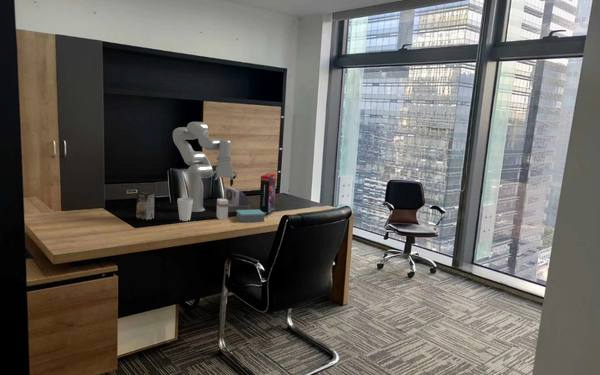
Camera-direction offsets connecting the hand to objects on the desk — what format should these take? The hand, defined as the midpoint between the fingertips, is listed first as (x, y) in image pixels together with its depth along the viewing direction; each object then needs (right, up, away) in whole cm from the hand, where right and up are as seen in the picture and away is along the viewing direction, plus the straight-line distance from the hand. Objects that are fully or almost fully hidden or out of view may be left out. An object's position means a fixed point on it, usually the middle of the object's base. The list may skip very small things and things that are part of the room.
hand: (223, 185), depth 281 cm
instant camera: (+1, -17, +34) cm, 38 cm away
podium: (+17, -22, +4) cm, 28 cm away
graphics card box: (+26, -19, +26) cm, 41 cm away
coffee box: (-47, -20, -10) cm, 52 cm away
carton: (-2, -21, +4) cm, 21 cm away
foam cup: (-23, -21, -8) cm, 32 cm away
